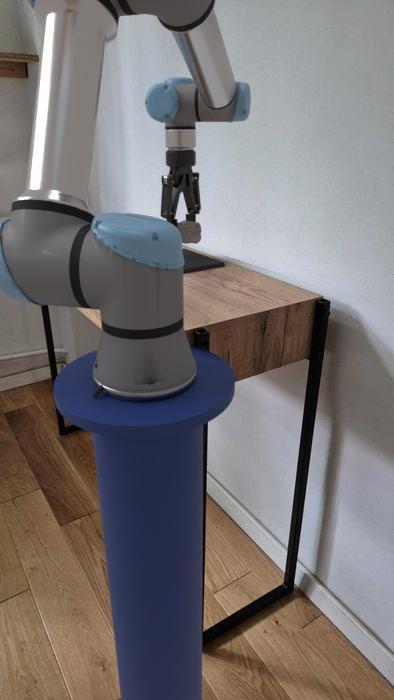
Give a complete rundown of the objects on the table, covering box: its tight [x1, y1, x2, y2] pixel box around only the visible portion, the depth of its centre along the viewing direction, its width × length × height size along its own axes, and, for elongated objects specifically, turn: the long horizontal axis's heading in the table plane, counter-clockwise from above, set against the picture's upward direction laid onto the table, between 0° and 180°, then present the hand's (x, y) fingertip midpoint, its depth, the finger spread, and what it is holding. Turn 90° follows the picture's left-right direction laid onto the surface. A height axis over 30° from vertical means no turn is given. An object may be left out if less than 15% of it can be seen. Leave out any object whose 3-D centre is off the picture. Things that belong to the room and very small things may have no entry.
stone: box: [177, 219, 202, 245], centre depth 129 cm, size 10×8×6 cm
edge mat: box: [182, 247, 226, 274], centre depth 131 cm, size 20×14×1 cm
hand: (182, 241), depth 129 cm, fingers closed on stone, 8 cm apart
